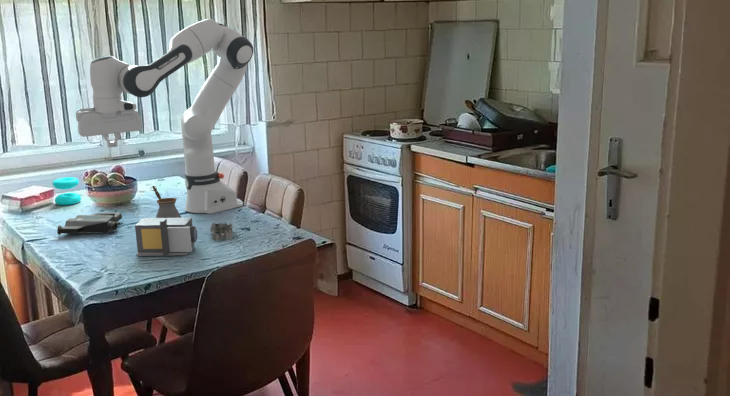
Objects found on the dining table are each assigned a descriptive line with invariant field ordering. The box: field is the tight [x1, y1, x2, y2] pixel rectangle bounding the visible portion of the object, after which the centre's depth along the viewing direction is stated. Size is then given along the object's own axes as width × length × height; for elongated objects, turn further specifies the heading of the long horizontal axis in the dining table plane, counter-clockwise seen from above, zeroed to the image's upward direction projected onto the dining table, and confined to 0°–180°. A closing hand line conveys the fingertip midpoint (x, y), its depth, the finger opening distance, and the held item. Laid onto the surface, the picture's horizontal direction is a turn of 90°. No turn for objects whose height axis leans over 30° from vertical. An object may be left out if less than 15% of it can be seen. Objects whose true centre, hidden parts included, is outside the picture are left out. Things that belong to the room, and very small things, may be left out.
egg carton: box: [209, 222, 234, 241], centre depth 243 cm, size 11×8×4 cm
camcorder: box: [56, 212, 123, 236], centre depth 253 cm, size 16×20×5 cm
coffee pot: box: [150, 185, 182, 218], centre depth 246 cm, size 21×12×15 cm, turn 32°
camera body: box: [134, 217, 198, 257], centre depth 227 cm, size 18×10×10 cm, turn 89°
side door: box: [160, 219, 193, 256], centre depth 220 cm, size 8×4×11 cm, turn 89°
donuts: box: [51, 176, 82, 206], centre depth 289 cm, size 10×10×10 cm
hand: (112, 146), depth 239 cm, fingers closed
